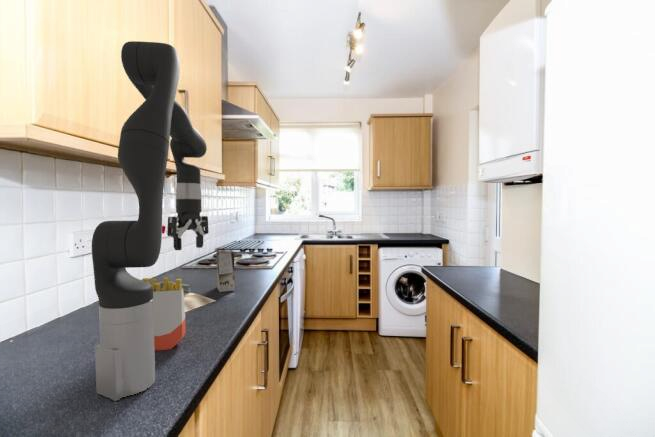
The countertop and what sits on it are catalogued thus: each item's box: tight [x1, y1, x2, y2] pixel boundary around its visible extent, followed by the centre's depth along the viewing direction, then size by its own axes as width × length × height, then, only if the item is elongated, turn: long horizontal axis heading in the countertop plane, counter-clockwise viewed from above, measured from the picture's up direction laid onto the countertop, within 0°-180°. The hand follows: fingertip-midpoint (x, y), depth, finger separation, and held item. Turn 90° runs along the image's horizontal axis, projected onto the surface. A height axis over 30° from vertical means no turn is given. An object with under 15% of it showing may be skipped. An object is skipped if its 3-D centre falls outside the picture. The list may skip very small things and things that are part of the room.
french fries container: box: [141, 277, 186, 351], centre depth 83 cm, size 5×11×18 cm, turn 102°
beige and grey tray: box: [159, 280, 217, 313], centre depth 119 cm, size 20×28×5 cm
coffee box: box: [216, 248, 236, 293], centre depth 138 cm, size 9×6×16 cm
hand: (189, 248), depth 105 cm, fingers open, 8 cm apart
